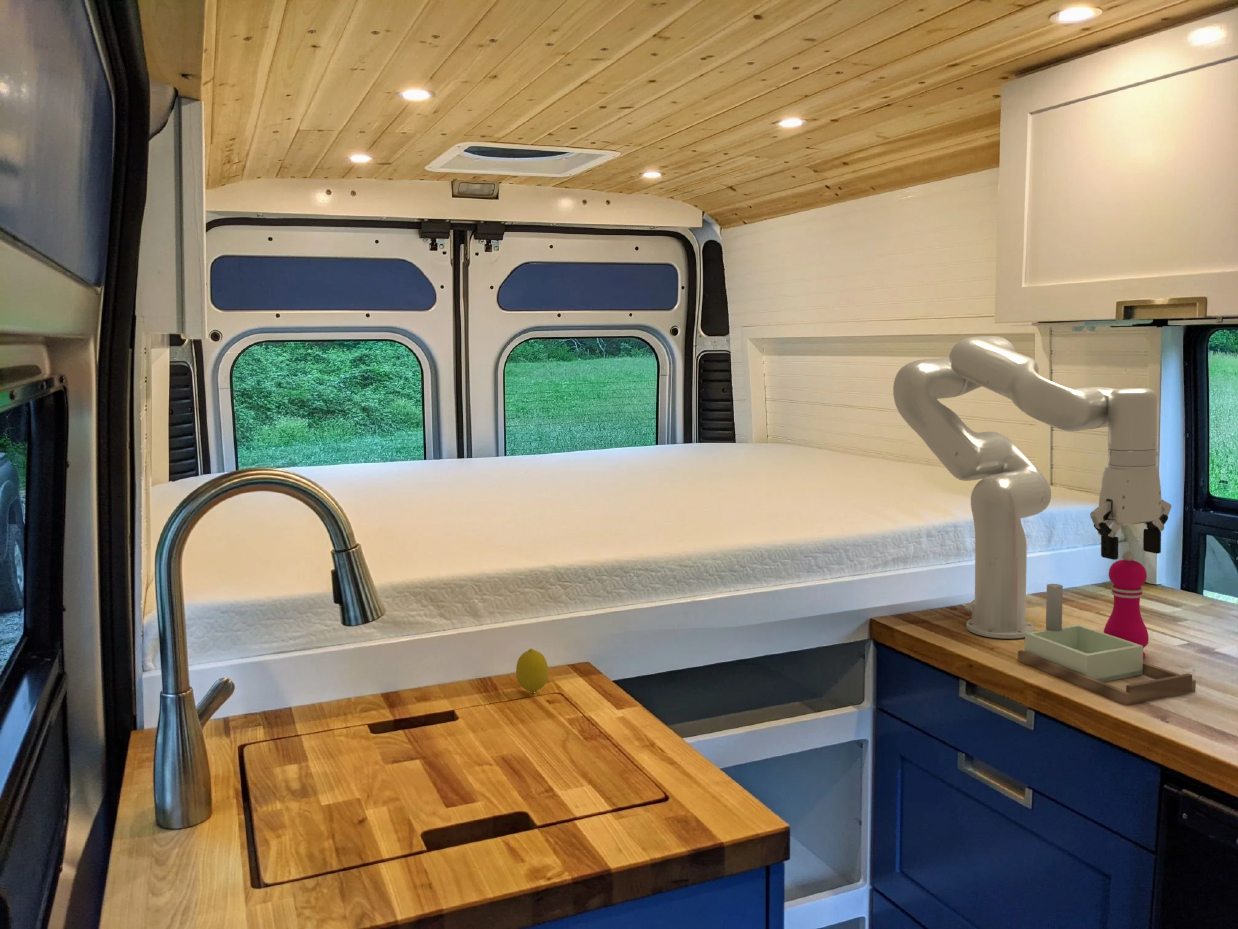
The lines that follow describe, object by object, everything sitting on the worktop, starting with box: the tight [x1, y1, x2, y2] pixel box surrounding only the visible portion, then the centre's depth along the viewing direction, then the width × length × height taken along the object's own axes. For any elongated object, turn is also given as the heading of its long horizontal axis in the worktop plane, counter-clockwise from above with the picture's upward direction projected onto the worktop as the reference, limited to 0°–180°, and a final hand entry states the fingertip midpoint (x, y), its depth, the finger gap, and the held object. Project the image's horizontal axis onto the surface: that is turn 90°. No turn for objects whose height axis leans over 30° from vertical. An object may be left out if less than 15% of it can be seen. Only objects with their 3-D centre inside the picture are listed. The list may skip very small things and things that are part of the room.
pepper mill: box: [1103, 550, 1150, 659], centre depth 172 cm, size 7×7×20 cm
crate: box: [1024, 583, 1144, 683], centre depth 167 cm, size 15×12×13 cm
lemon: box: [515, 648, 549, 694], centre depth 167 cm, size 6×6×8 cm
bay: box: [1017, 649, 1197, 706], centre depth 163 cm, size 23×14×4 cm, turn 19°
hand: (1130, 555), depth 171 cm, fingers open, 9 cm apart
